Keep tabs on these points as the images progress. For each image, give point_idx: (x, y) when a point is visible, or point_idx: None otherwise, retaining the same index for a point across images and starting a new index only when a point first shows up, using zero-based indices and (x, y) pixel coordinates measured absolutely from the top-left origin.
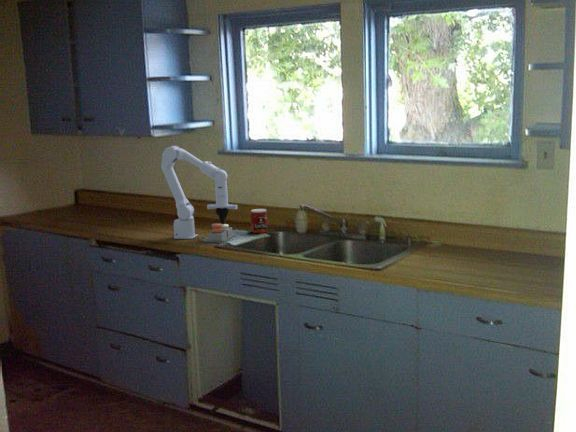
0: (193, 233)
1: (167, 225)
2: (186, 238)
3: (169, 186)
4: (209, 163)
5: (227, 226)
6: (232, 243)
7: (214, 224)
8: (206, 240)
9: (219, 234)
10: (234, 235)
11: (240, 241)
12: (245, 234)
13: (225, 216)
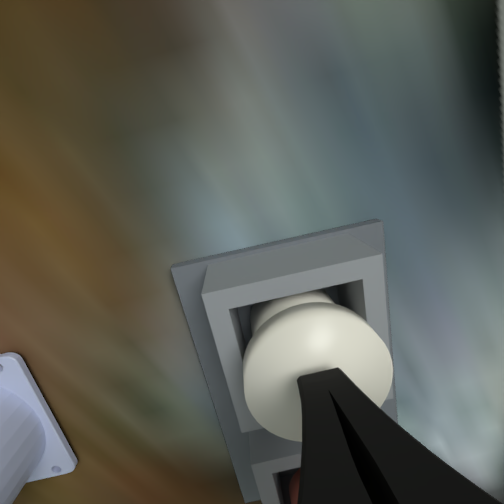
0: (25, 457)
1: None
2: (31, 477)
3: None
4: None
5: (383, 378)
6: (457, 462)
7: None
8: (253, 493)
9: None
10: (384, 271)
11: (495, 404)
12: (457, 158)
13: (419, 477)
